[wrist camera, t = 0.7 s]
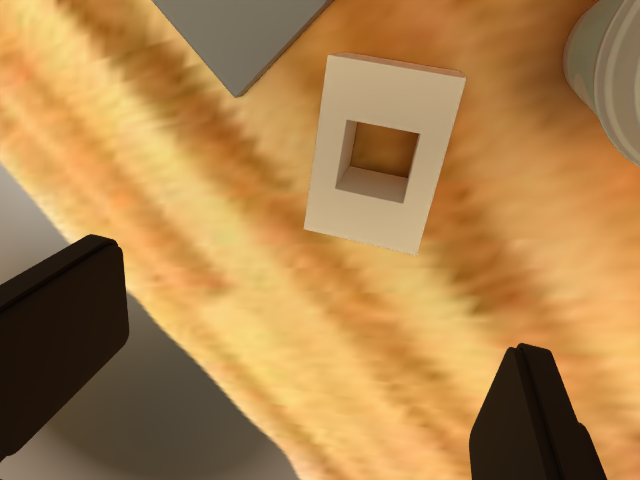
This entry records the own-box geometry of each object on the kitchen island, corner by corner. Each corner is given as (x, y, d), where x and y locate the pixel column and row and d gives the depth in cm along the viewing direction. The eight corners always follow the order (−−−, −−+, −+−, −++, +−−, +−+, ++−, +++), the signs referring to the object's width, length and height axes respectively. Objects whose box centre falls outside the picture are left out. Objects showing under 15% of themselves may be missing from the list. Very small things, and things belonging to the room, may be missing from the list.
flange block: (345, 51, 26) (327, 54, 22) (460, 71, 25) (466, 78, 21) (322, 201, 31) (303, 228, 26) (419, 223, 30) (416, 255, 25)
